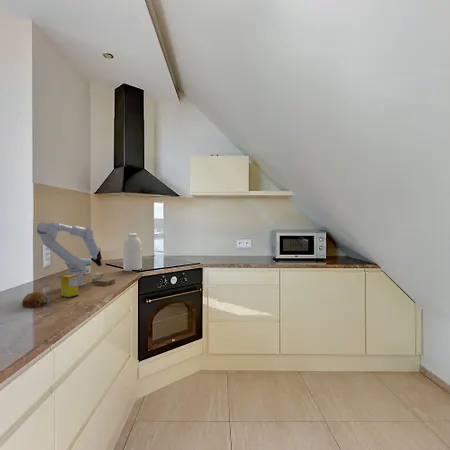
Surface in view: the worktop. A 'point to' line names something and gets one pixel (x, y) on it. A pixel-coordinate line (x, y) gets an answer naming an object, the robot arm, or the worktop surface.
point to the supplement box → (69, 286)
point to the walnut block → (105, 281)
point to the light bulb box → (87, 265)
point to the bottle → (132, 253)
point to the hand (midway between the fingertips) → (100, 262)
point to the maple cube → (97, 276)
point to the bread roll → (34, 300)
